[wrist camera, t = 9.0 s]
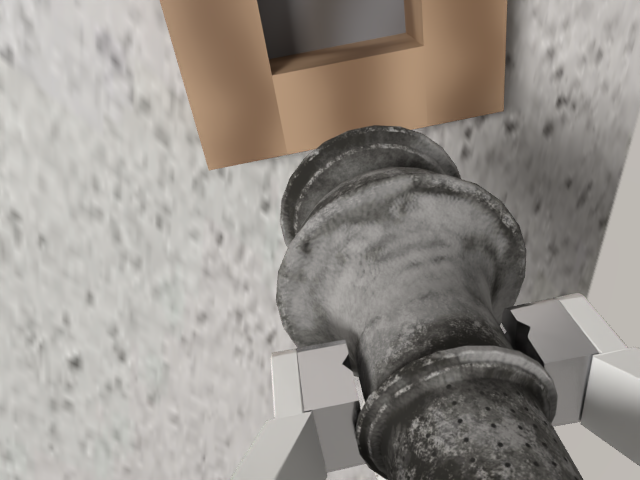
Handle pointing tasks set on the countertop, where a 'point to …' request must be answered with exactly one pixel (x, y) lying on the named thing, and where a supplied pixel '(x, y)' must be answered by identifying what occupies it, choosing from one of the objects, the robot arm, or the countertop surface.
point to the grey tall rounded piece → (417, 309)
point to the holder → (332, 68)
